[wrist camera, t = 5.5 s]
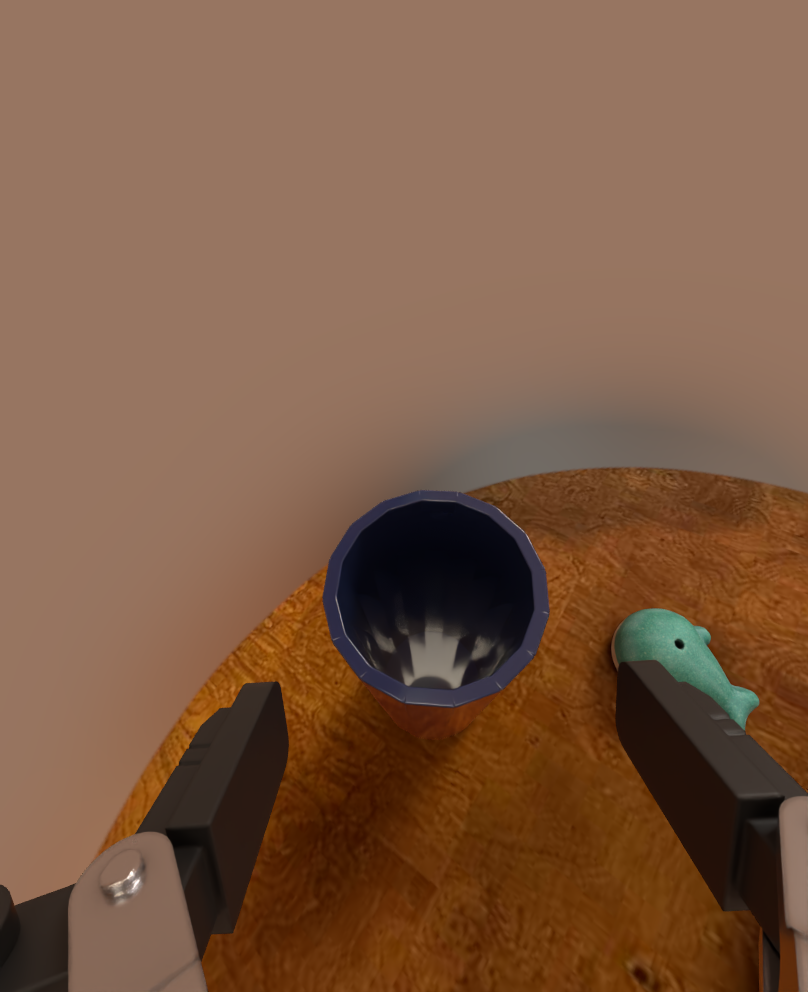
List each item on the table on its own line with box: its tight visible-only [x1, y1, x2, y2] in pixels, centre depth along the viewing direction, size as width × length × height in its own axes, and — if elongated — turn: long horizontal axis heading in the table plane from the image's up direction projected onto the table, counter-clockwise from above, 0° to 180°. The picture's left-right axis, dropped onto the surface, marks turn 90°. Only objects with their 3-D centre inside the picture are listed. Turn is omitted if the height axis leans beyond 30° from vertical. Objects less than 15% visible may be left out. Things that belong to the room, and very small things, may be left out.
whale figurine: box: [611, 609, 759, 730], centre depth 23 cm, size 6×7×4 cm
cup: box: [322, 490, 550, 740], centre depth 19 cm, size 6×6×16 cm
